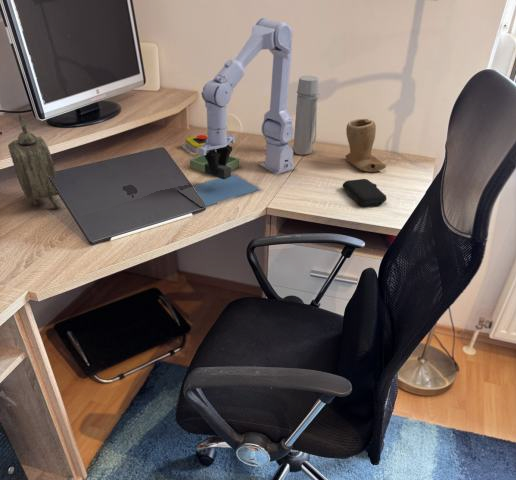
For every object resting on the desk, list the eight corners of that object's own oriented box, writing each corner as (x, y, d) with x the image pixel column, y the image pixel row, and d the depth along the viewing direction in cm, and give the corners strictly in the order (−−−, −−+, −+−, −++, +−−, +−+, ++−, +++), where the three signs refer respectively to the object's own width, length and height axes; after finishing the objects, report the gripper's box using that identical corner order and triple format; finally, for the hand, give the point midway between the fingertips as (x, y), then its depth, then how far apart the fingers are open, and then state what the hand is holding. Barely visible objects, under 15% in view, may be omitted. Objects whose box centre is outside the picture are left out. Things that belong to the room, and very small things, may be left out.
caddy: (239, 167, 172) (239, 158, 170) (217, 178, 165) (217, 169, 163) (212, 158, 178) (212, 150, 176) (190, 168, 171) (189, 159, 169)
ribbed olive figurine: (65, 210, 146) (42, 121, 129) (33, 216, 142) (5, 126, 126) (53, 190, 155) (31, 105, 138) (23, 196, 152) (-4, 109, 135)
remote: (231, 176, 156) (231, 167, 154) (224, 179, 154) (224, 170, 152) (212, 169, 160) (211, 160, 158) (205, 172, 157) (204, 163, 155)
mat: (259, 190, 160) (259, 189, 159) (201, 208, 149) (201, 207, 149) (234, 175, 168) (234, 174, 167) (177, 191, 157) (177, 190, 157)
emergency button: (180, 135, 182) (217, 129, 188) (181, 147, 185) (217, 141, 191) (191, 143, 176) (228, 137, 182) (191, 156, 179) (228, 149, 185)
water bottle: (287, 151, 184) (292, 77, 168) (302, 146, 189) (308, 73, 172) (305, 159, 180) (312, 83, 163) (320, 154, 184) (328, 79, 167)
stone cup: (336, 159, 180) (341, 115, 170) (365, 155, 184) (372, 113, 174) (355, 176, 170) (362, 130, 160) (386, 172, 173) (395, 127, 163)
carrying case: (391, 204, 154) (369, 185, 165) (393, 195, 152) (370, 176, 163) (359, 208, 152) (339, 188, 162) (361, 199, 150) (341, 179, 160)
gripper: (222, 117, 153) (223, 161, 162) (190, 129, 144) (192, 175, 153) (240, 122, 150) (240, 167, 159) (208, 135, 141) (210, 181, 150)
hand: (218, 171), depth 156 cm, fingers closed on remote, 3 cm apart
